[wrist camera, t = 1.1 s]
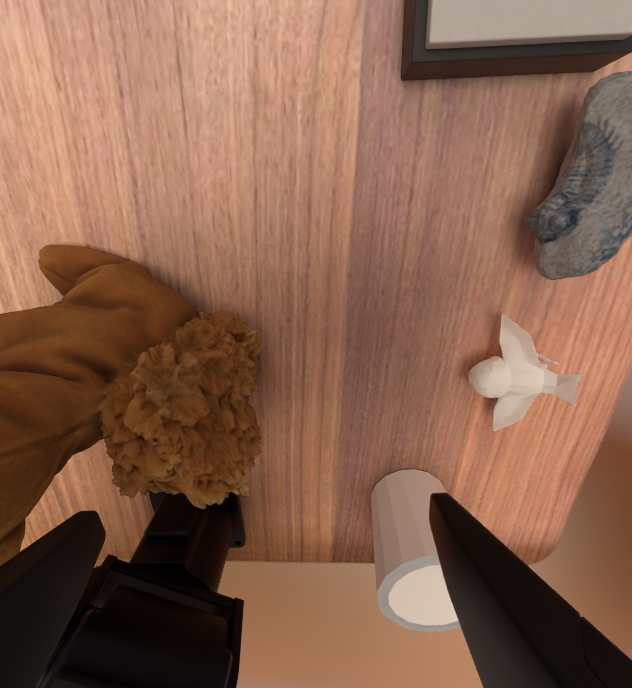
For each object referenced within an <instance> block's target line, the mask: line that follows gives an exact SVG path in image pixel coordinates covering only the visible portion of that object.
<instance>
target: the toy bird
mask: <svg viewBox="0 0 632 688" xmlns="http://www.w3.org/2000/svg"><path fill="white" fill-rule="evenodd" d="M499 343H500V346H501V349H502V356H503V359H502V358H501V357H498V356H493V357H491V358H489V359H488V360H484V361H481V362H479V363H478V364H476V365H475V366H474V367H473V368H471V370H470V372H469V374H468V381H469V383H470V385H471V386H472V388H473V389H474V390H475V391H476V393H478V394H480V395H481V396H483V397H487V398H498V401H497V403H496V405H495V407H494V423H493V432H495V431H497V430H500V429H502V428H505V427H507V426H510V425H513V424H515V423H518V422H520V421H521V420H522V419H523V417H524V415H525V414H526V412H527V411H528V409H529V408H530V406H531V405H532V403H533V401H534V400H535V399H536V398H537V396H538V395H539V394H540V393H547V394H555V395H556V396H558V397H560V398H561V399H563V400H564V401H566V402H568V403H569V404H571V405H573V406H574V407H576V390H577V387H578V385H579V382H580V380H581V377H582V375H583V374H575V375H557V374H555V373H553V372H551V371H549V370H548V369H547V367H548V364H547V362H548V363H553V364H559V362H556V361H554V360H551V359H549V358H547V357H545V356H543V355H541V354H539V353H537V352H536V349H535V346H534V343H533V340H532V337H531V334H529V333H528V332H527V331H525V330H524V329H523V328H521V327H520V326H519V325H518V324H516V323H515V322H514V321H512V320H511V319H510V318H508V317H507V316H506V315H504V314H503V313H502V319H501V329H500V337H499ZM538 356H539V357H541V358H539V357H538ZM539 360H541V361H544V364H542V363H540V361H539Z"/></svg>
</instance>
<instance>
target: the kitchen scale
mask: <svg viewBox="0 0 632 688" xmlns="http://www.w3.org/2000/svg"><path fill="white" fill-rule="evenodd" d="M631 52H632V0H405V4H404V25H403V46H402V68H401V80H421V79H442V78H462V77H483V76H504V75H524V74H545V73H565V72H586V71H596V70H598V69H600V68H602V67H604V66H606V65H608V64H610V63H612V62H613V61H615V60H617V59H619V58H621V57H623V56H625V55H627V54H629V53H631Z"/></svg>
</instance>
